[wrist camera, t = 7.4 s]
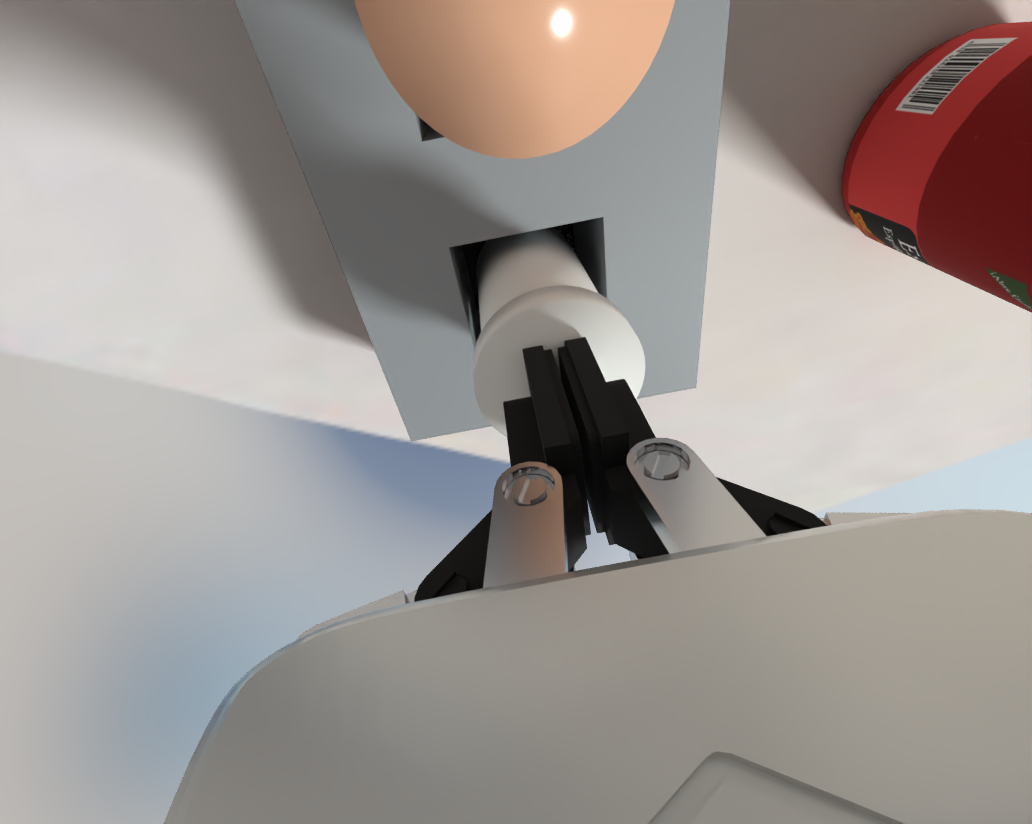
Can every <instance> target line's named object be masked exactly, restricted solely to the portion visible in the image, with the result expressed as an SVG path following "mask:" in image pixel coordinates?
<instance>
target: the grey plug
mask: <svg viewBox="0 0 1032 824" xmlns="http://www.w3.org/2000/svg"><path fill="white" fill-rule="evenodd" d="M477 285H478V298H479V311H480V324H481V333H480V335H479V337H478V340H477V342H476V346H475V349H474V356H473V376H474V392H475V397H476V401H477V403H478V406H479V408H480V410H481V412H482V414H483V416H484V417H485V418H486V420H487V421H488V422H489V423H490V424H491V425H492V426H493V427H494V428H495V429H496V430H497V431H499V432H500V433H501V434H503V435H505V436H506V437H507V430H506V422H505V415H504V407H503V402H504V401H509V400H514V399H520V398H525V397H530V396H531V395H530V390H529V384H528V379H527V373H526V368H525V362H524V356H523V351H522V349H524V348H530V347H535V346H540V345H543V349H544V350H548V349H552V352H553V355H554V358H555V362H556V365H557V368H558V371H559V374H560V366H559V358H558V347H563V346H564V341H566V340H571V339H576V338H581V337H586V339H587V341H588V343H589V346H590V348H591V350H592V352H593V354H594V357H595V359H596V361H597V363H598V365H599V368H600V370H601V372H602V374H603V376H604V379H605V381H606V382H609V381H614V380H619V379H625V380H626V382H627V383H628V385H629V387H630V389H631V391H632V393H633V395H634V397H635V399H637V397H638V395H639V393H640V390H641V387H642V385H643V380H644V376H645V356H644V352H643V348H642V345H641V343H640V340H639V338H638V337H637V335H636V334H635V332H634V330H633V329H632V327H631V326H630V324H629V322H628V321H627V319H626V318H625V316H624V314H623V313H622V312H621V311H620V309H619V308H618V307H617V306H616V305H615V304H614V303H612V302H611V301H610V300H609V299H607V298H606V297H604V296H602V295H601V294H599V293H598V292H597V290H596V288H595V286H594V285H593V283H592V281H591V280H590V278H589V276H588V274H587V273H586V271H585V269H584V267H583V266H582V264H581V262H580V260H579V259H578V257H577V255H576V254H575V252H574V250H573V248H572V247H571V245H570V243H569V242H568V240H567V239H566V237H565V236H564V235H563V234H562V233H561V232H560V231H558V230H557V229H556V228H554V227H550V228H545V229H540V230H535V231H530V232H525V233H520V234H515V235H509V236H504V237H499V238H494V239H489V240H488V241H487V242H486V243H485V245H484V247H483V248H482V250H481V253H480V255H479V258H478V262H477ZM560 377H561V374H560Z"/></svg>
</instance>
